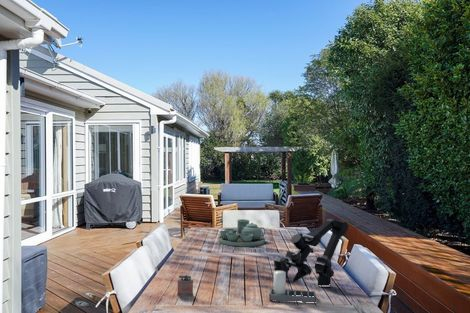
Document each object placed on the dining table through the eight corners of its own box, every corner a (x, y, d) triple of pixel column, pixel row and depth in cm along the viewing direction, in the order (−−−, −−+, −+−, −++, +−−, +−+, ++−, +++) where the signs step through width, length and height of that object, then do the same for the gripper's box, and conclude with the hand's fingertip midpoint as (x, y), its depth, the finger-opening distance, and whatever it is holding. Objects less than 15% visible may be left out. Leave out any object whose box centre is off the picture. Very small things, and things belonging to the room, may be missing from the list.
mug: (273, 274, 238) (273, 257, 239) (288, 274, 238) (288, 258, 238) (273, 280, 226) (274, 262, 227) (289, 280, 226) (289, 263, 226)
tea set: (211, 239, 341) (211, 220, 341) (251, 236, 359) (251, 218, 359) (230, 248, 305) (230, 227, 306) (274, 245, 323) (274, 225, 323)
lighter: (193, 293, 201) (193, 274, 201) (192, 295, 197) (193, 276, 197) (177, 293, 200) (177, 273, 200) (176, 295, 197) (177, 275, 197)
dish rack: (315, 297, 199) (315, 290, 199) (316, 304, 189) (316, 296, 189) (270, 294, 202) (270, 287, 202) (269, 300, 192) (269, 293, 192)
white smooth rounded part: (282, 295, 200) (282, 270, 200) (287, 299, 194) (287, 273, 195) (271, 296, 199) (272, 270, 199) (276, 300, 193) (276, 274, 193)
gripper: (282, 241, 210) (266, 265, 204) (308, 248, 195) (291, 274, 189) (292, 254, 215) (277, 278, 208) (318, 262, 200) (303, 287, 193)
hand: (286, 279), depth 200 cm, fingers open, 9 cm apart
